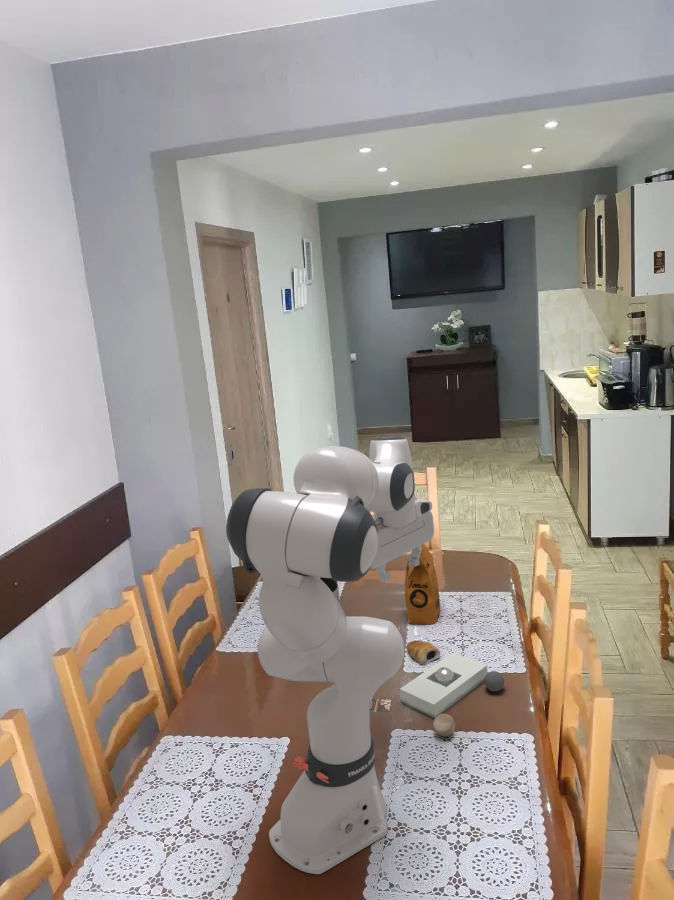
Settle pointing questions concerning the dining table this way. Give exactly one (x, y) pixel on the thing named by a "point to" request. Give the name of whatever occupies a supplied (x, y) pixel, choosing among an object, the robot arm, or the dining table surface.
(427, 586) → the coffee package
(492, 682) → the rubber ball
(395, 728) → the dining table surface
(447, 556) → the dining table surface
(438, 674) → the steel ball
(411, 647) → the pastry
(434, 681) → the pocket board
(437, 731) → the ash ball
